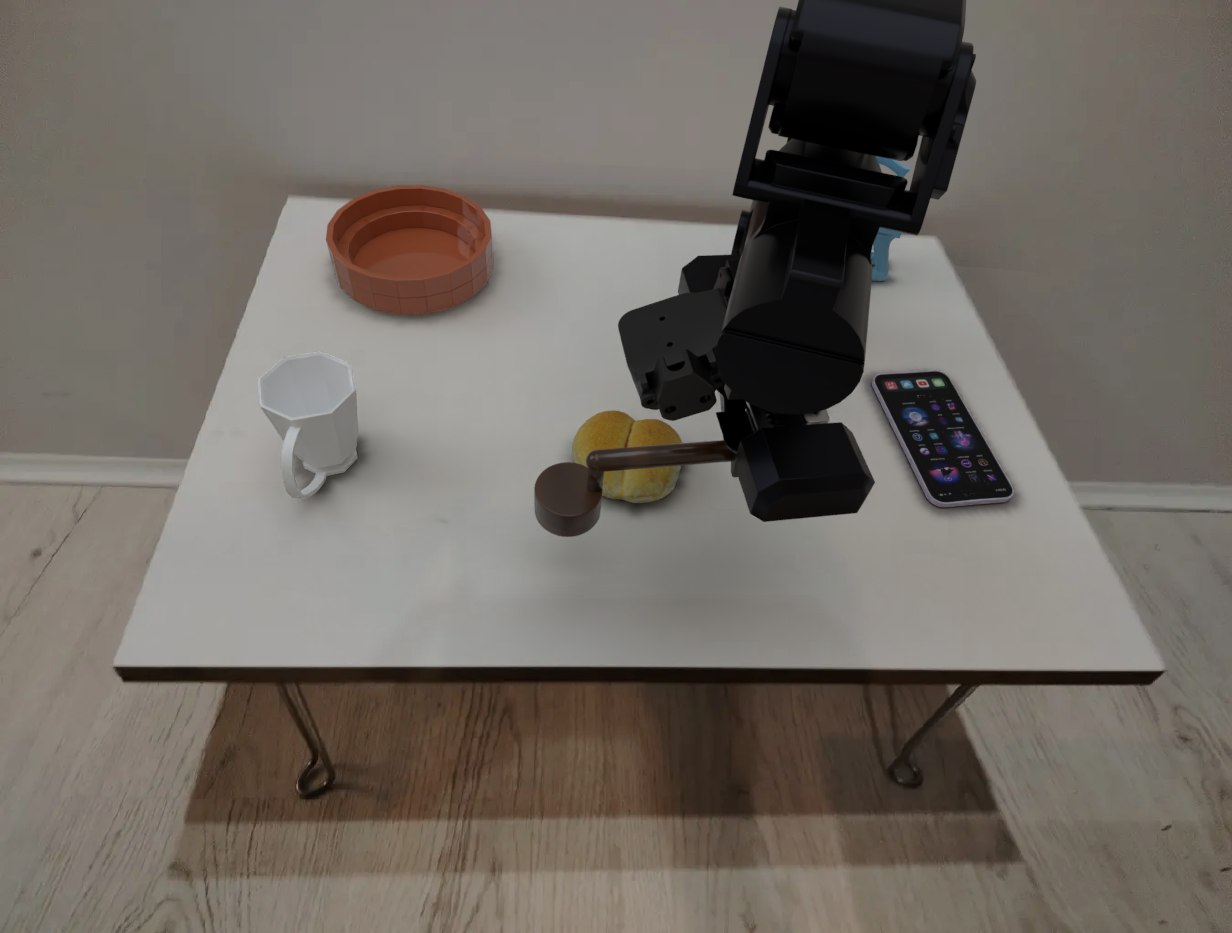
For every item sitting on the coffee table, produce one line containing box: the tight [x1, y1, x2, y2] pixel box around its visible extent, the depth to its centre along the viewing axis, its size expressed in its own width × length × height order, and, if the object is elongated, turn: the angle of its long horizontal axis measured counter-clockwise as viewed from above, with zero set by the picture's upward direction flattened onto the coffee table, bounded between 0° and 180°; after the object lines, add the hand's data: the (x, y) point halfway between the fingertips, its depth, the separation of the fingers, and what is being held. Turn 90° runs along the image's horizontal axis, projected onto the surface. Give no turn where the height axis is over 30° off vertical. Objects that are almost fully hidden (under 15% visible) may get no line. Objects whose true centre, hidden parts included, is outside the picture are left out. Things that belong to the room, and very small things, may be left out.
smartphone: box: [871, 369, 1015, 508], centre depth 68 cm, size 8×1×15 cm
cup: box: [257, 350, 359, 499], centre depth 58 cm, size 7×10×8 cm
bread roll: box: [571, 410, 684, 504], centre depth 62 cm, size 8×9×4 cm
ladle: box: [533, 439, 732, 538], centre depth 51 cm, size 19×4×6 cm, turn 99°
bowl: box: [325, 184, 494, 315], centre depth 76 cm, size 15×15×4 cm
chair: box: [871, 156, 912, 282], centre depth 79 cm, size 8×8×12 cm
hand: (735, 464), depth 51 cm, fingers closed on ladle
